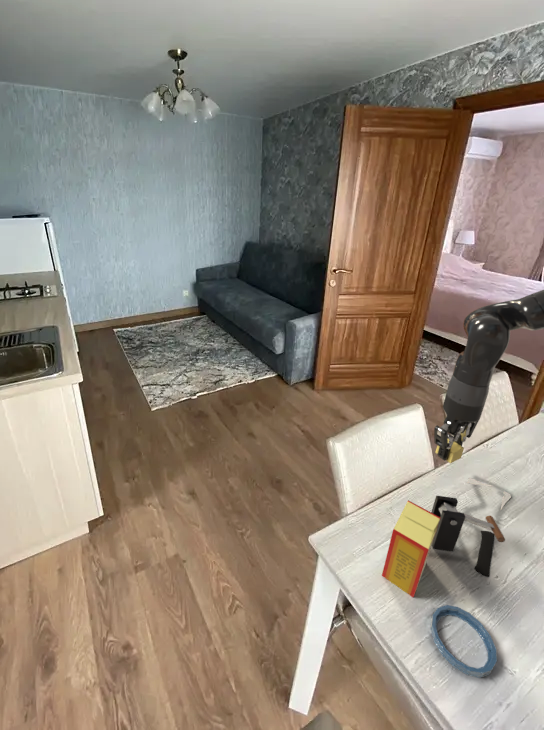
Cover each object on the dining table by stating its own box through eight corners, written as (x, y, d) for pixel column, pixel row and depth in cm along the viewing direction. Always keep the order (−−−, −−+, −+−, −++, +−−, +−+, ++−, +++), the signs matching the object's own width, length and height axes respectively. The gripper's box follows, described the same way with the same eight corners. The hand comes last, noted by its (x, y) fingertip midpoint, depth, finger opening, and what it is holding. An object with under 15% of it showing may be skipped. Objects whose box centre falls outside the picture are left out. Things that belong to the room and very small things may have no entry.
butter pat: (445, 447, 87) (448, 437, 86) (461, 458, 84) (464, 447, 83) (435, 452, 85) (438, 442, 84) (450, 463, 82) (453, 453, 81)
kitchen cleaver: (469, 475, 102) (511, 490, 95) (468, 480, 102) (510, 495, 96) (443, 554, 80) (496, 581, 73) (443, 559, 80) (495, 586, 74)
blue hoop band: (476, 619, 69) (480, 610, 68) (503, 687, 59) (508, 678, 58) (422, 609, 70) (425, 600, 69) (440, 674, 61) (443, 665, 60)
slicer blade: (489, 522, 81) (495, 515, 80) (501, 544, 76) (508, 537, 75) (435, 502, 82) (441, 495, 81) (444, 523, 77) (450, 516, 76)
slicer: (453, 532, 86) (466, 494, 81) (467, 564, 79) (482, 525, 74) (411, 525, 88) (421, 488, 83) (420, 556, 80) (432, 517, 75)
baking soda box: (412, 601, 72) (428, 549, 66) (380, 579, 76) (393, 528, 69) (425, 566, 78) (441, 516, 72) (395, 548, 82) (408, 498, 76)
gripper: (462, 413, 72) (443, 475, 78) (501, 396, 78) (481, 455, 84) (430, 395, 78) (415, 454, 85) (468, 380, 84) (452, 437, 91)
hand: (448, 454), depth 84 cm, fingers closed on butter pat, 4 cm apart
